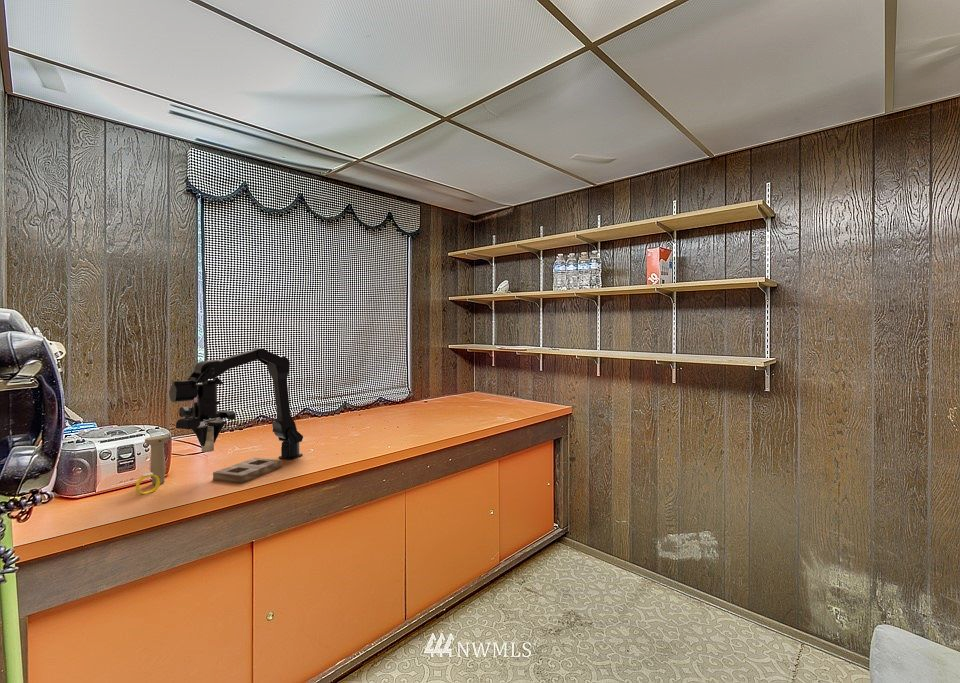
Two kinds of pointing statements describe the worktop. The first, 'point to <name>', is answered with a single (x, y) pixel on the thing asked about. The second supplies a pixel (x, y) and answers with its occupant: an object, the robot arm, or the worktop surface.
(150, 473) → the yellow round part
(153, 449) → the handle
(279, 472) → the worktop surface
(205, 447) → the pin
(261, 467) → the bore block
